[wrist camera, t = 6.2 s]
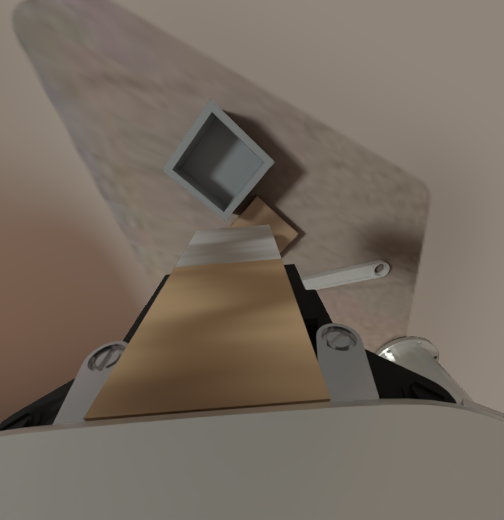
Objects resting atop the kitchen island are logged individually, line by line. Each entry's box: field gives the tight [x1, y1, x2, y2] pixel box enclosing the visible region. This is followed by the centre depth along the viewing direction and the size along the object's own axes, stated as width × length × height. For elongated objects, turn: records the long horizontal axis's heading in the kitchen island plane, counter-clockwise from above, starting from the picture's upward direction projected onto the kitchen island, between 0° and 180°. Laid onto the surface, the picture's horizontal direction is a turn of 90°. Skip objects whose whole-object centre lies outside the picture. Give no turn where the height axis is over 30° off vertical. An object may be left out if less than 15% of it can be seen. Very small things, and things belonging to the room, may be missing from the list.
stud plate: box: [229, 195, 298, 253], centre depth 32 cm, size 8×8×6 cm
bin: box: [162, 99, 274, 221], centre depth 28 cm, size 9×9×5 cm
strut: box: [83, 225, 331, 421], centre depth 10 cm, size 4×4×11 cm
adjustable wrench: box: [300, 260, 390, 290], centre depth 38 cm, size 25×6×2 cm, turn 98°
